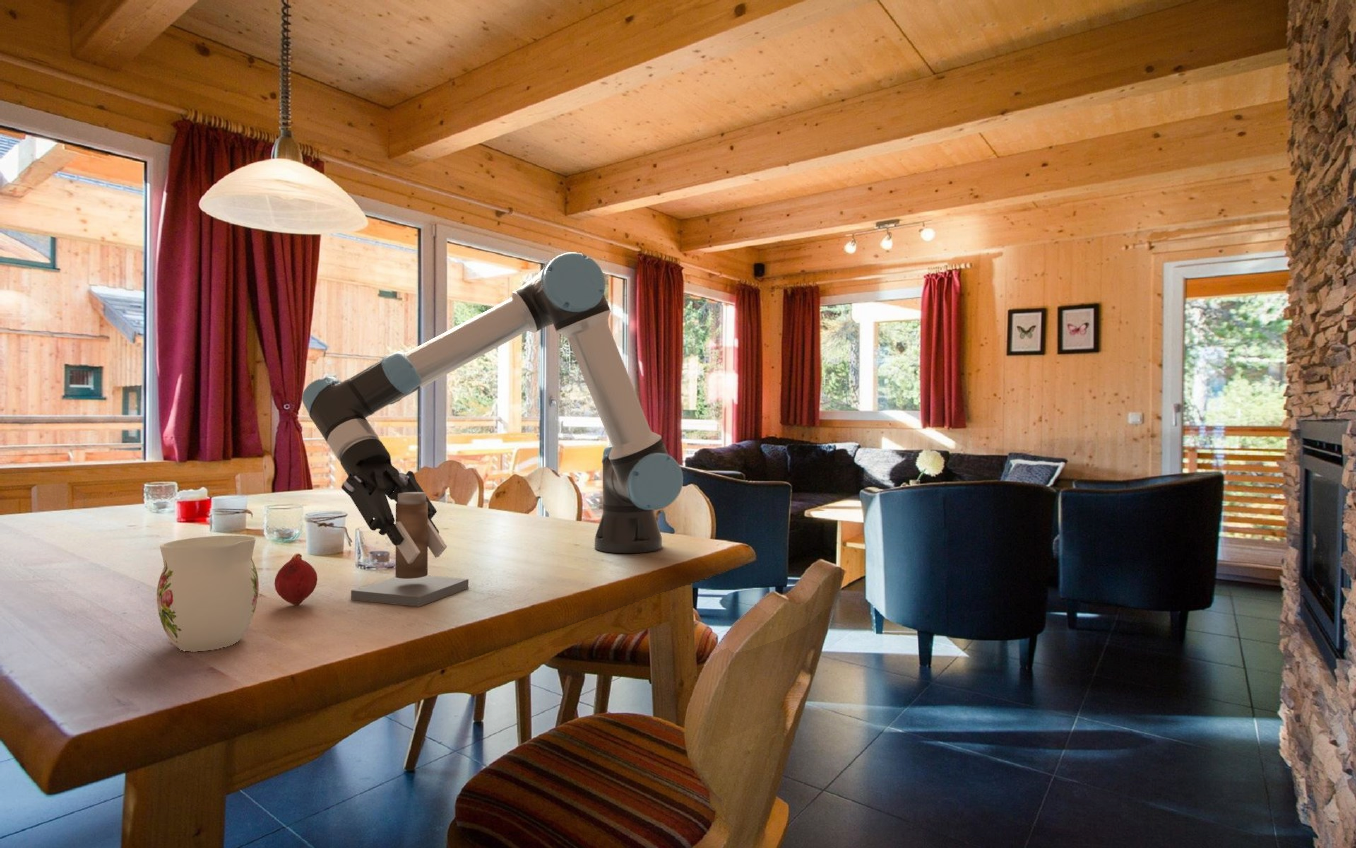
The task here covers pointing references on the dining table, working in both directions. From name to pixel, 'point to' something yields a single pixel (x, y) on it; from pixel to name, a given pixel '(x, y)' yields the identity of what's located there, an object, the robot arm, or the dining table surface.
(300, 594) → the onion
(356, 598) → the slate board
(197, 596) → the pitcher
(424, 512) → the pepper mill
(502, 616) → the dining table surface
